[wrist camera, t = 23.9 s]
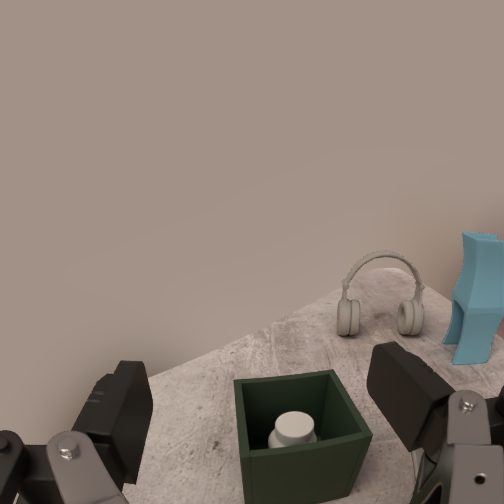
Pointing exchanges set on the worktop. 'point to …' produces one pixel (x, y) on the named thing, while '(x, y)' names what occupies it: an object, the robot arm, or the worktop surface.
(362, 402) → the worktop surface
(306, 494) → the trash bin
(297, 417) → the pill bottle
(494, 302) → the blue two-legged arch
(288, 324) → the worktop surface
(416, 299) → the headphones
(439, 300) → the worktop surface
